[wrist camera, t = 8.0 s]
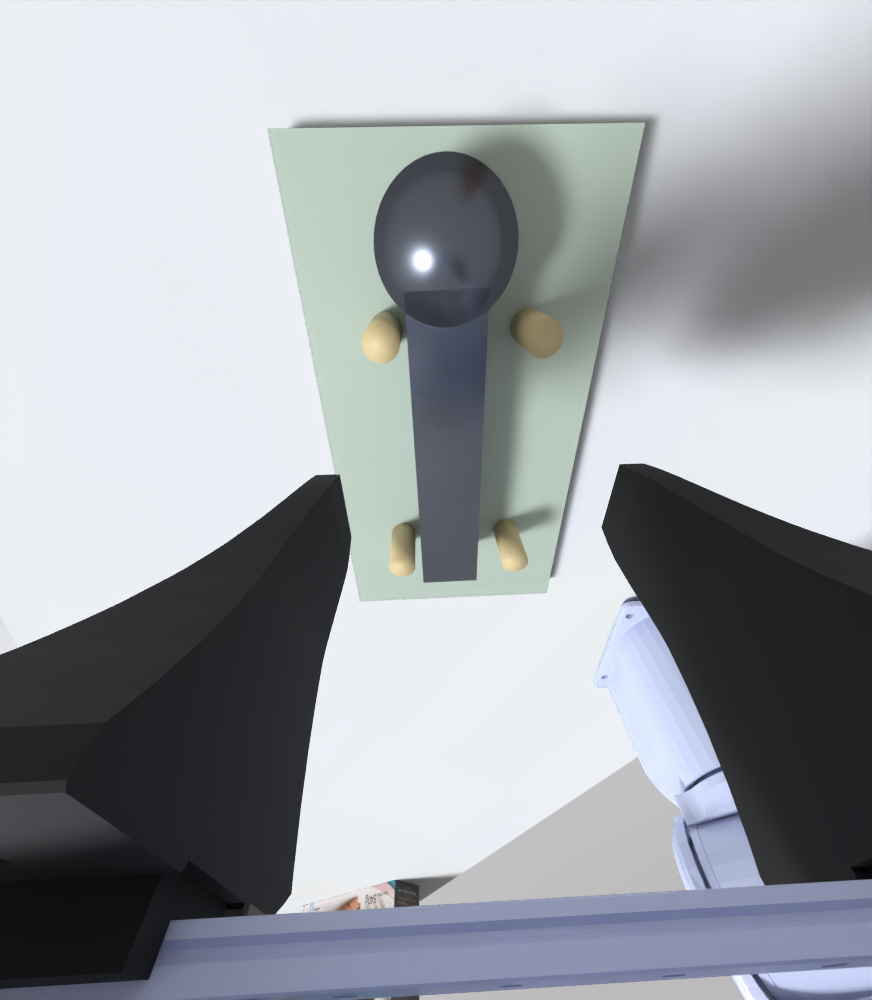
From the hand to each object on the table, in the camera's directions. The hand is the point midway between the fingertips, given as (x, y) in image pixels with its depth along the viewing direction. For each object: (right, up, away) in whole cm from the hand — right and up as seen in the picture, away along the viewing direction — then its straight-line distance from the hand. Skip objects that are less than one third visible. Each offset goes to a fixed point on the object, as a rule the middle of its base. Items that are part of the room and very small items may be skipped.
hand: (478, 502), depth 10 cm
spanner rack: (0, +3, +7) cm, 8 cm away
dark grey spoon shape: (-1, +4, +6) cm, 7 cm away
